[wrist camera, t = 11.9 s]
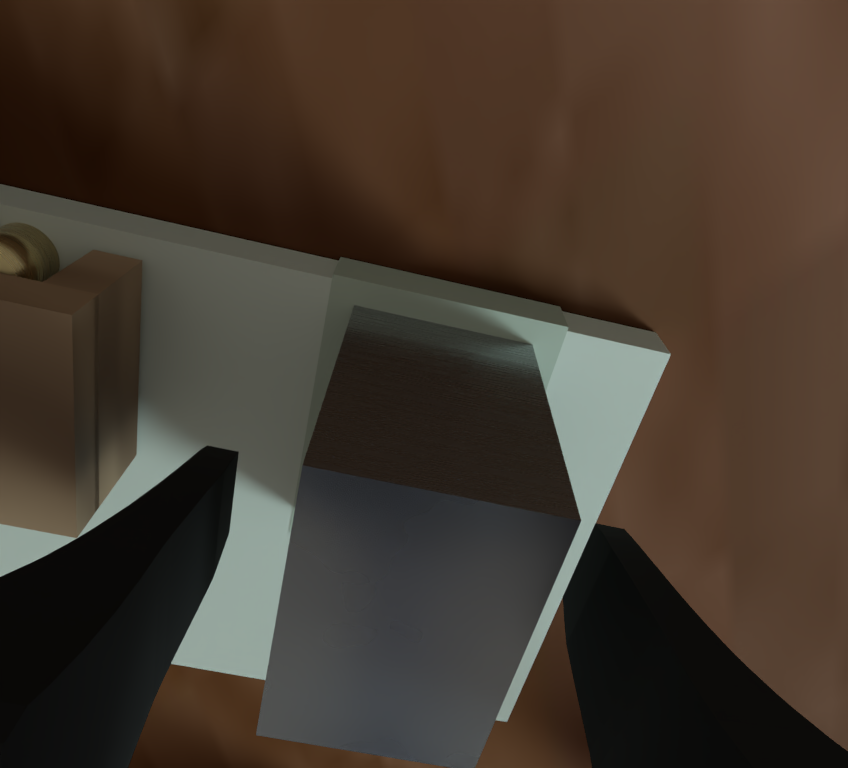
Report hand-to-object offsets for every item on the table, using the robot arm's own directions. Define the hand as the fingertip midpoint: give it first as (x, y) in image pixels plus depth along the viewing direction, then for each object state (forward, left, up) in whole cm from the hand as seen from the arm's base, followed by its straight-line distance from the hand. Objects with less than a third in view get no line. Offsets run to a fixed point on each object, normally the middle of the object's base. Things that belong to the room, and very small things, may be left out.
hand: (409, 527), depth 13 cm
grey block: (0, 0, -3) cm, 3 cm away
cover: (+1, +9, -3) cm, 9 cm away
